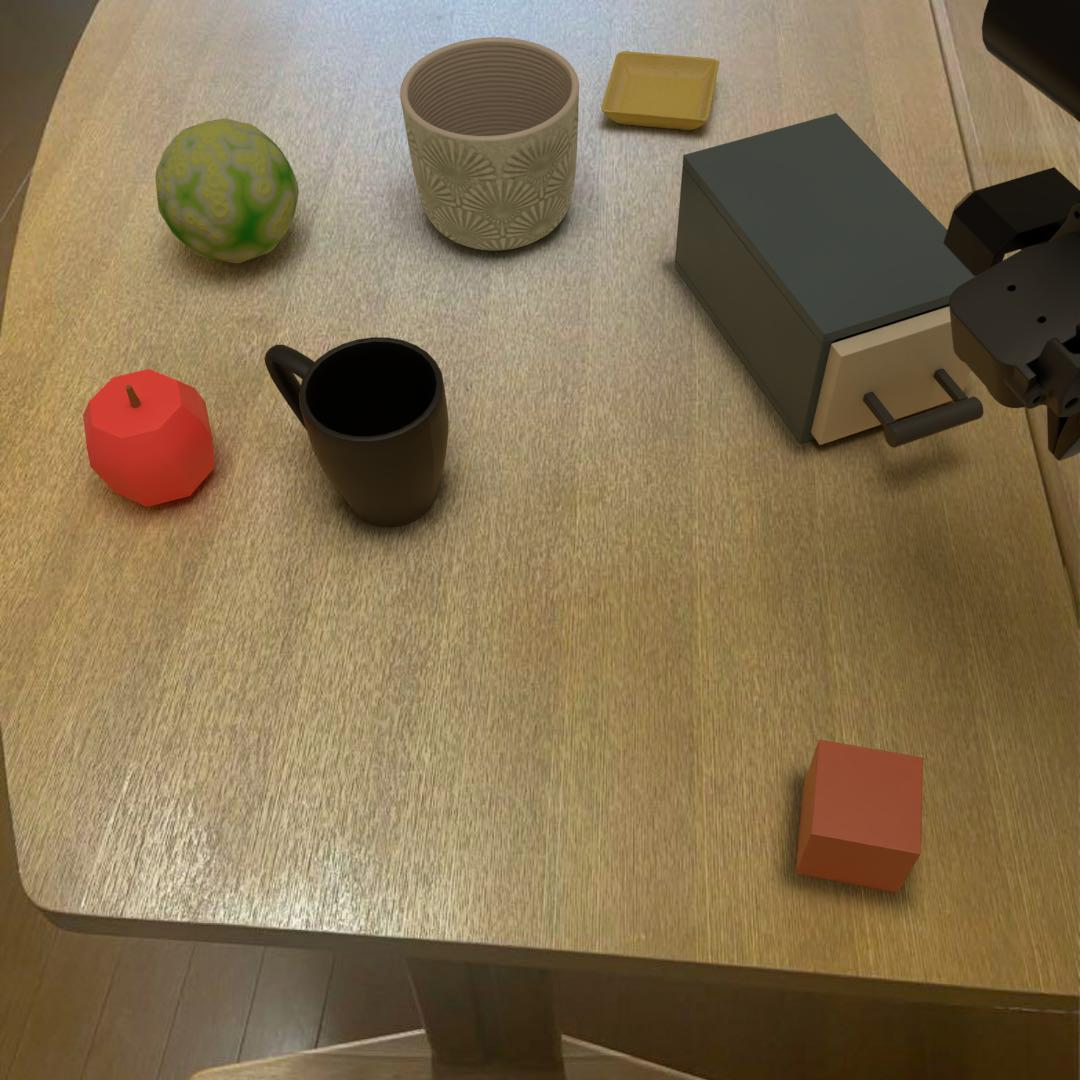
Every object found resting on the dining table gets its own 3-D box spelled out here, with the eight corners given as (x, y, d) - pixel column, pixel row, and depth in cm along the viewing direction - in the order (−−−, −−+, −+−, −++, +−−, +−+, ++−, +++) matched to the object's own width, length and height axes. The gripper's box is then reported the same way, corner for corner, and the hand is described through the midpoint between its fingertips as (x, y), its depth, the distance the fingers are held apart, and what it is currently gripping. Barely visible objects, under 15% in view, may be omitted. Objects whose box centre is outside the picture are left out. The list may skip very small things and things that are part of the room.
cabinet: (955, 392, 78) (995, 280, 71) (799, 444, 76) (824, 334, 68) (814, 225, 89) (836, 112, 81) (674, 267, 87) (682, 154, 79)
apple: (81, 469, 77) (35, 382, 70) (189, 409, 80) (155, 320, 73) (141, 544, 73) (99, 460, 66) (252, 478, 76) (222, 391, 69)
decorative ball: (243, 310, 85) (208, 194, 77) (150, 256, 89) (107, 141, 81) (337, 236, 90) (313, 120, 82) (244, 189, 93) (213, 73, 85)
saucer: (706, 142, 95) (708, 119, 94) (599, 132, 97) (599, 109, 95) (718, 81, 100) (720, 58, 99) (617, 72, 102) (617, 49, 100)
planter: (581, 266, 87) (581, 136, 78) (412, 271, 87) (393, 142, 78) (577, 162, 94) (577, 33, 86) (421, 166, 95) (405, 38, 86)
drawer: (998, 441, 75) (1036, 352, 68) (853, 492, 73) (878, 404, 66) (825, 236, 87) (843, 144, 80) (696, 275, 85) (705, 183, 78)
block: (901, 800, 62) (923, 757, 57) (897, 893, 59) (921, 854, 55) (803, 782, 62) (818, 738, 58) (795, 873, 59) (810, 834, 55)
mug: (340, 401, 80) (314, 293, 72) (484, 478, 75) (472, 371, 68) (256, 480, 76) (219, 374, 68) (402, 566, 71) (380, 463, 64)
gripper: (881, 108, 49) (820, 374, 62) (1185, 414, 39) (1038, 660, 51) (1104, 46, 52) (1002, 315, 64) (1449, 320, 41) (1246, 577, 54)
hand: (1061, 453), depth 58 cm, fingers closed
